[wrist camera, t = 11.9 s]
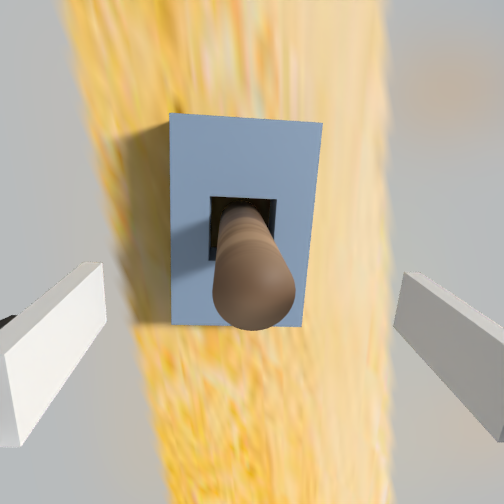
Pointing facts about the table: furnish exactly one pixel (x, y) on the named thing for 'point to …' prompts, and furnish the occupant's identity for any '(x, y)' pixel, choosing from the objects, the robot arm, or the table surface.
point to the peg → (250, 271)
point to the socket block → (243, 186)
